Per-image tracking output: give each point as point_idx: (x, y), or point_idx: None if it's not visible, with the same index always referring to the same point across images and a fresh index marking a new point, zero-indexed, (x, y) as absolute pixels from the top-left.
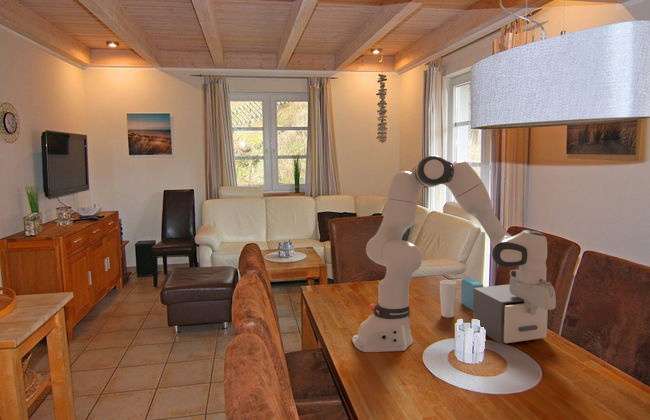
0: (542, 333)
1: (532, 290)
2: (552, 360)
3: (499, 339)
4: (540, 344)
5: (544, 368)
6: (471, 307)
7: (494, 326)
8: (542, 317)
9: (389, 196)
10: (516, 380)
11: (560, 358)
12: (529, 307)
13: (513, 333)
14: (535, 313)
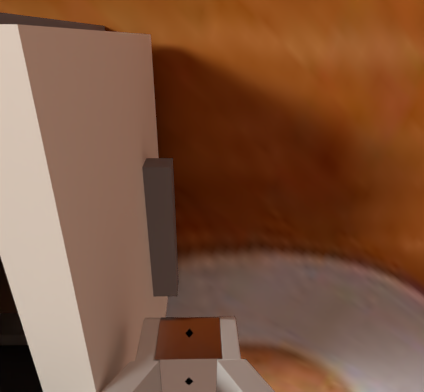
0: (147, 76)
1: None
2: (372, 190)
3: None
4: (194, 115)
5: (406, 268)
6: None
7: None
8: (122, 106)
9: None
10: (413, 385)
11: (377, 138)
12: (153, 390)
13: (160, 298)
14: (236, 326)
